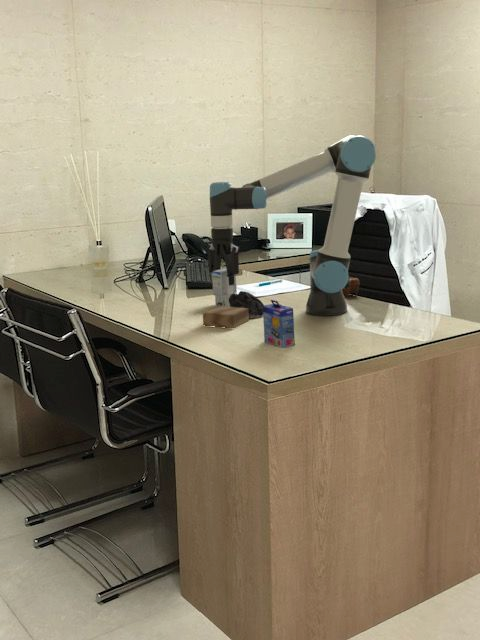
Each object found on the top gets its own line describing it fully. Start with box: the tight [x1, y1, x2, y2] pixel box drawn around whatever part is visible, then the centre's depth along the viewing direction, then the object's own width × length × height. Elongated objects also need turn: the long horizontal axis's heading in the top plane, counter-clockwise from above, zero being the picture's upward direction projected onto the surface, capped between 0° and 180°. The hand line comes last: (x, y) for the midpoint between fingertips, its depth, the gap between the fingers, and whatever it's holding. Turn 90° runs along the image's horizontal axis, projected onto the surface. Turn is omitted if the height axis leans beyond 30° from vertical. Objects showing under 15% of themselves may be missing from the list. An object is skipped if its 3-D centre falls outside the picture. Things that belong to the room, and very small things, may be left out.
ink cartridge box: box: [262, 299, 296, 349], centre depth 254 cm, size 10×6×14 cm, turn 35°
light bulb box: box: [214, 283, 238, 308], centre depth 309 cm, size 11×7×11 cm, turn 168°
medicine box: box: [211, 267, 237, 296], centre depth 280 cm, size 8×4×9 cm, turn 141°
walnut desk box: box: [202, 306, 250, 329], centre depth 283 cm, size 12×12×5 cm
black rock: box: [229, 290, 265, 319], centre depth 295 cm, size 13×14×10 cm
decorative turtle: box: [342, 275, 361, 298], centre depth 322 cm, size 10×15×8 cm, turn 36°
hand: (224, 293), depth 281 cm, fingers closed on medicine box, 4 cm apart
